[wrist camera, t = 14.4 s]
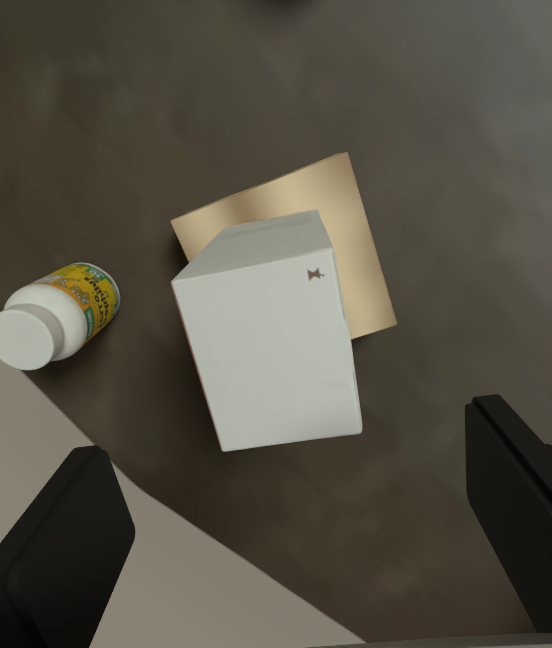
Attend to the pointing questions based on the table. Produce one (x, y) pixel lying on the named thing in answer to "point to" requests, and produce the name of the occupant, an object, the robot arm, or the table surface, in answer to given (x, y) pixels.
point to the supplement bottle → (56, 315)
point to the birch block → (337, 216)
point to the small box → (270, 333)
